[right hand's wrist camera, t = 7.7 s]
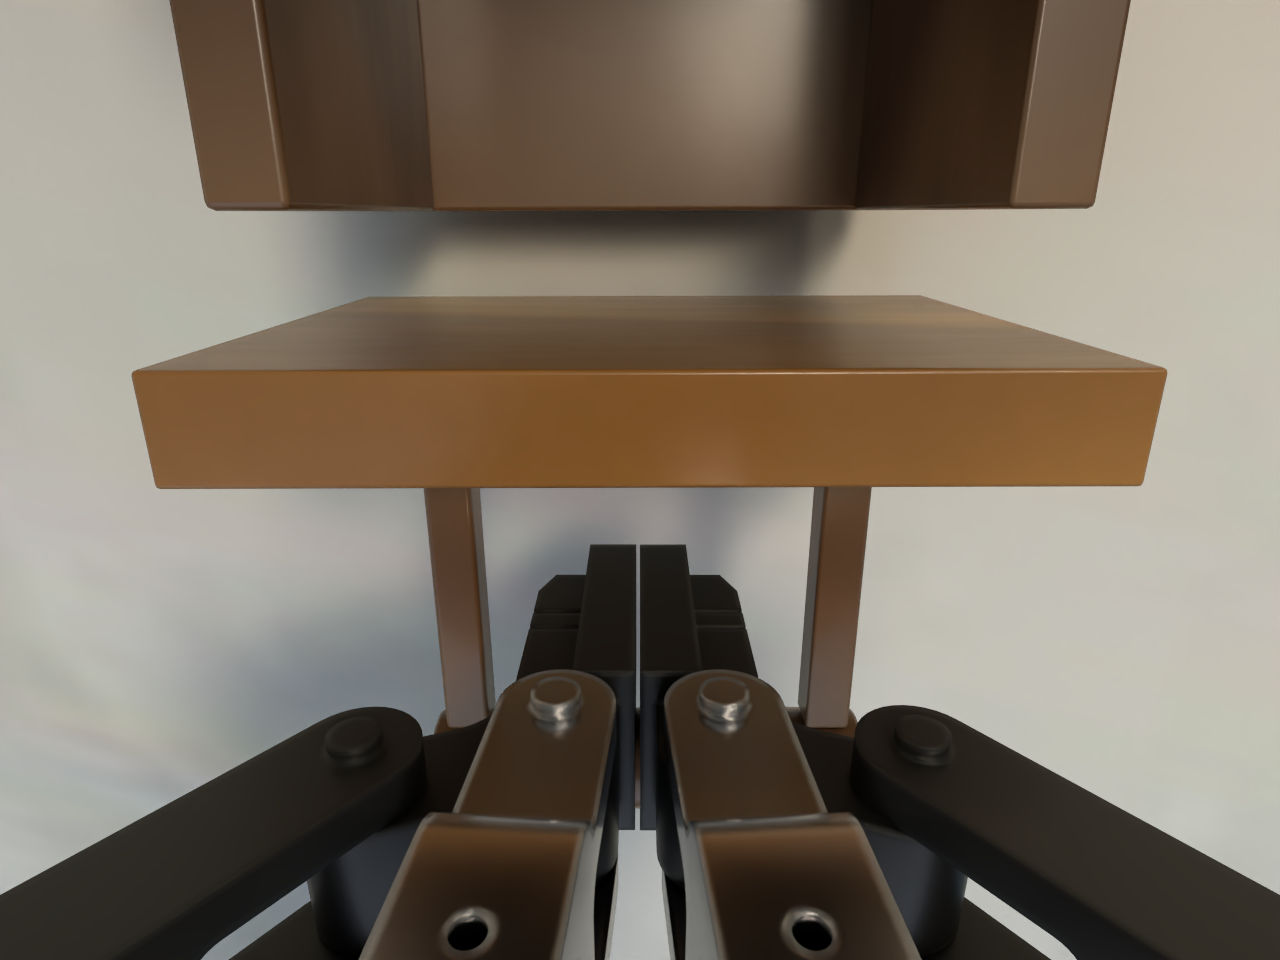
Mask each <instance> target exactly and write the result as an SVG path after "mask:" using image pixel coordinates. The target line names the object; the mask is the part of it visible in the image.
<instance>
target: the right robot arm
mask: <svg viewBox="0 0 1280 960" xmlns="http://www.w3.org/2000/svg"><path fill="white" fill-rule="evenodd" d="M635 760H636V544H591V545H590V551H589V558H588V565H587V572H586V575H556V576H555V577H554V578H553V579H551V580H550V581H549V582H548V583H547V584H546V585H545V586H544V587H543V588H542V589H541V590H539V593H538V597H537V601H536V605H535V608H534V613H533V616H532V620H531V624H530V629H529V632H528V636H527V640H526V644H525V647H524V651H523V655H522V659H521V663H520V667H519V671H518V675H517V679H516V682H514V683H512V684H511V685H510V686H509V687H508V688H506V689H505V690H504V692H503V693H502V694H501V695H500V697H499V699H498V701H497V703H496V706H495V708H494V711H493V713H492V715H490V716H488V717H487V718H485V719H483V720H481V721H479V722H477V723H475V724H472V725H469V726H466V727H463V728H459V729H456V730H452V731H447V732H442V733H438V734H433V735H429V736H424V737H423V735H422V730H421V727H420V725H419V723H418V722H417V721H416V719H414V718H413V717H412V716H411V715H409V714H407V713H405V712H403V711H400V710H397V709H393V708H387V707H364V708H358V709H352V710H348V711H345V712H341V713H338V714H336V715H333V716H330V717H328V718H326V719H324V720H322V721H320V722H318V723H316V724H314V725H312V726H311V727H309V728H307V729H305V730H303V731H301V732H300V733H298V734H296V735H294V736H292V737H290V738H288V739H287V740H285V741H283V742H281V743H279V744H277V745H276V746H274V747H272V748H270V749H268V750H266V751H265V752H263V753H261V754H259V755H257V756H255V757H254V758H252V759H250V760H248V761H246V762H244V763H242V764H241V765H239V766H237V767H235V768H233V769H231V770H230V771H228V772H226V773H224V774H222V775H220V776H219V777H217V778H215V779H213V780H211V781H209V782H207V783H206V784H204V785H202V786H200V787H198V788H196V789H195V790H193V791H191V792H189V793H187V794H185V795H184V796H182V797H180V798H178V799H176V800H174V801H172V802H171V803H169V804H167V805H165V806H163V807H161V808H160V809H158V810H156V811H154V812H152V813H150V814H149V815H147V816H145V817H143V818H141V819H139V820H138V821H136V822H134V823H132V824H130V825H128V826H126V827H125V828H123V829H121V830H119V831H117V832H115V833H114V834H112V835H110V836H108V837H106V838H104V839H103V840H101V841H99V842H97V843H95V844H93V845H91V846H90V847H88V848H86V849H84V850H82V851H80V852H79V853H77V854H75V855H73V856H71V857H69V858H68V859H66V860H64V861H62V862H60V863H58V864H57V865H55V866H53V867H51V868H49V869H47V870H45V871H44V872H42V873H40V874H38V875H36V876H34V877H33V878H31V879H29V880H27V881H25V882H23V883H22V884H20V885H18V886H16V887H14V888H12V889H10V890H9V891H7V892H5V893H3V894H1V895H0V960H201V959H202V958H203V956H204V955H205V954H206V953H207V952H208V951H209V950H210V949H211V948H212V947H213V946H214V945H216V944H217V943H218V942H220V941H221V940H222V939H224V938H225V937H227V936H228V935H229V934H231V933H232V932H234V931H235V930H237V929H238V928H239V927H241V926H242V925H244V924H245V923H247V922H248V921H249V920H251V919H252V918H254V917H255V916H257V915H258V914H259V913H261V912H262V911H264V910H265V909H267V908H268V907H270V906H271V905H272V904H274V903H275V902H277V901H278V900H280V899H281V898H282V897H284V896H285V895H287V894H288V893H290V892H291V891H292V890H294V889H295V888H297V887H298V886H300V885H301V884H302V883H304V882H305V881H307V883H308V889H309V894H310V899H311V901H310V902H308V903H307V904H305V905H304V906H303V907H301V908H300V909H298V910H297V911H296V912H294V913H293V914H292V915H290V916H289V917H287V918H286V919H285V920H283V921H282V922H280V923H279V924H278V925H276V926H275V927H274V928H272V929H271V930H269V931H268V932H267V933H265V934H264V935H262V936H261V937H260V938H258V939H257V940H256V941H254V942H253V943H251V944H250V945H249V946H247V947H246V948H244V949H243V950H242V951H240V952H239V953H238V954H236V955H235V956H233V957H232V958H231V959H229V960H609V959H610V951H611V943H612V934H613V926H614V918H615V910H616V902H617V893H618V832H619V830H635ZM640 830H656V842H657V856H658V860H659V863H660V866H661V868H662V893H663V901H664V909H665V917H666V926H667V934H668V942H669V950H670V958H671V960H1051V959H1049V958H1048V957H1047V956H1045V955H1044V954H1042V953H1041V952H1040V951H1038V950H1037V949H1036V948H1034V947H1033V946H1031V945H1030V944H1029V943H1027V942H1026V941H1024V940H1023V939H1022V938H1020V937H1019V936H1018V935H1016V934H1015V933H1013V932H1012V931H1011V930H1009V929H1008V928H1006V927H1005V926H1004V925H1002V924H1001V923H1000V922H998V921H997V920H995V919H994V918H993V917H991V916H990V915H988V914H987V913H986V912H984V911H983V910H982V909H980V908H979V907H977V906H976V905H975V904H973V903H972V902H970V901H969V900H968V899H966V898H965V897H964V894H965V889H966V884H967V878H968V877H969V878H970V879H972V880H973V881H975V882H976V883H978V884H979V885H980V886H982V887H983V888H985V889H986V890H988V891H989V892H990V893H992V894H993V895H995V896H996V897H998V898H999V899H1000V900H1002V901H1003V902H1005V903H1006V904H1008V905H1009V906H1010V907H1012V908H1013V909H1015V910H1016V911H1018V912H1019V913H1020V914H1022V915H1023V916H1025V917H1026V918H1028V919H1029V920H1031V921H1032V922H1033V923H1035V924H1036V925H1038V926H1039V927H1041V928H1042V929H1043V930H1045V931H1046V932H1048V933H1049V934H1051V935H1052V936H1053V937H1055V938H1056V939H1057V940H1059V941H1060V942H1061V943H1062V944H1063V945H1064V946H1065V947H1067V948H1068V949H1069V950H1070V952H1071V953H1072V954H1073V955H1074V956H1075V958H1076V959H1077V960H1280V895H1279V894H1277V893H1275V892H1273V891H1271V890H1269V889H1268V888H1266V887H1264V886H1262V885H1260V884H1258V883H1257V882H1255V881H1253V880H1251V879H1249V878H1247V877H1246V876H1244V875H1242V874H1240V873H1238V872H1236V871H1235V870H1233V869H1231V868H1229V867H1227V866H1225V865H1223V864H1222V863H1220V862H1218V861H1216V860H1214V859H1212V858H1211V857H1209V856H1207V855H1205V854H1203V853H1201V852H1200V851H1198V850H1196V849H1194V848H1192V847H1190V846H1188V845H1187V844H1185V843H1183V842H1181V841H1179V840H1177V839H1176V838H1174V837H1172V836H1170V835H1168V834H1166V833H1165V832H1163V831H1161V830H1159V829H1157V828H1155V827H1154V826H1152V825H1150V824H1148V823H1146V822H1144V821H1142V820H1141V819H1139V818H1137V817H1135V816H1133V815H1131V814H1130V813H1128V812H1126V811H1124V810H1122V809H1120V808H1119V807H1117V806H1115V805H1113V804H1111V803H1109V802H1107V801H1106V800H1104V799H1102V798H1100V797H1098V796H1096V795H1095V794H1093V793H1091V792H1089V791H1087V790H1085V789H1084V788H1082V787H1080V786H1078V785H1076V784H1074V783H1072V782H1071V781H1069V780H1067V779H1065V778H1063V777H1061V776H1060V775H1058V774H1056V773H1054V772H1052V771H1050V770H1049V769H1047V768H1045V767H1043V766H1041V765H1039V764H1038V763H1036V762H1034V761H1032V760H1030V759H1028V758H1026V757H1025V756H1023V755H1021V754H1019V753H1017V752H1015V751H1014V750H1012V749H1010V748H1008V747H1006V746H1004V745H1003V744H1001V743H999V742H997V741H995V740H993V739H991V738H990V737H988V736H986V735H984V734H982V733H980V732H979V731H977V730H975V729H973V728H971V727H969V726H968V725H966V724H964V723H962V722H960V721H958V720H956V719H954V718H952V717H950V716H948V715H946V714H943V713H940V712H938V711H935V710H931V709H927V708H923V707H917V706H907V705H893V706H886V707H881V708H878V709H875V710H873V711H871V712H869V713H867V714H866V715H864V716H863V717H862V718H861V719H860V720H859V722H858V723H857V726H856V728H855V734H854V737H849V736H844V735H840V734H835V733H831V732H826V731H821V730H818V729H814V728H810V727H807V726H805V725H802V724H799V723H797V722H795V721H793V720H791V719H790V718H789V715H788V713H787V710H786V708H785V705H784V703H783V701H782V699H781V697H780V695H779V694H778V693H777V691H776V690H775V689H774V688H773V687H771V686H770V685H769V684H768V683H766V682H764V681H763V680H761V679H759V678H758V675H757V671H756V666H755V662H754V658H753V654H752V650H751V646H750V642H749V638H748V634H747V630H746V629H745V622H744V618H743V614H742V610H741V605H740V601H739V597H738V593H737V591H736V590H735V589H734V588H733V587H732V586H731V585H730V584H729V583H728V582H727V581H726V580H724V579H723V578H722V577H721V576H720V575H690V574H689V566H688V559H687V551H686V545H640Z"/></svg>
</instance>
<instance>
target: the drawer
mask: <svg viewBox="0 0 1280 960" xmlns="http://www.w3.org/2000/svg"><path fill="white" fill-rule="evenodd" d="M1130 1H1131V0H170V5H171V11H172V17H173V22H174V28H175V34H176V40H177V45H178V51H179V57H180V62H181V68H182V74H183V80H184V85H185V91H186V97H187V103H188V108H189V114H190V120H191V125H192V131H193V137H194V143H195V148H196V154H197V160H198V165H199V171H200V177H201V183H202V188H203V194H204V200H205V203H206V205H207V207H209V208H210V209H213V210H215V211H723V210H961V209H1086V208H1089V207H1092V206H1093V204H1094V202H1095V198H1096V192H1097V186H1098V181H1099V175H1100V170H1101V164H1102V158H1103V153H1104V147H1105V141H1106V136H1107V130H1108V125H1109V119H1110V113H1111V108H1112V102H1113V97H1114V91H1115V85H1116V80H1117V74H1118V68H1119V63H1120V57H1121V52H1122V46H1123V40H1124V35H1125V29H1126V24H1127V18H1128V12H1129V7H1130ZM1166 377H1167V370H1166V369H1165V368H1163V367H1159V366H1156V365H1153V364H1149V363H1146V362H1143V361H1139V360H1136V359H1132V358H1129V357H1126V356H1122V355H1119V354H1116V353H1112V352H1109V351H1105V350H1102V349H1099V348H1095V347H1092V346H1089V345H1085V344H1082V343H1078V342H1075V341H1072V340H1068V339H1065V338H1062V337H1058V336H1055V335H1052V334H1048V333H1045V332H1041V331H1038V330H1035V329H1031V328H1028V327H1025V326H1021V325H1018V324H1014V323H1011V322H1008V321H1004V320H1001V319H998V318H994V317H991V316H987V315H984V314H981V313H977V312H974V311H971V310H967V309H964V308H960V307H957V306H954V305H950V304H947V303H944V302H940V301H937V300H933V299H930V298H927V297H923V296H920V295H910V296H524V297H367V298H364V299H361V300H358V301H354V302H351V303H348V304H345V305H342V306H339V307H335V308H332V309H329V310H326V311H323V312H320V313H316V314H313V315H310V316H307V317H304V318H300V319H297V320H294V321H291V322H288V323H285V324H281V325H278V326H275V327H272V328H269V329H265V330H262V331H259V332H256V333H253V334H250V335H246V336H243V337H240V338H237V339H234V340H231V341H227V342H224V343H221V344H218V345H215V346H211V347H208V348H205V349H202V350H199V351H196V352H192V353H189V354H186V355H183V356H180V357H177V358H173V359H170V360H167V361H164V362H161V363H157V364H154V365H151V366H148V367H145V368H142V369H138V370H136V371H133V372H132V380H133V385H134V389H135V394H136V398H137V403H138V408H139V412H140V417H141V421H142V426H143V430H144V435H145V440H146V444H147V449H148V453H149V458H150V462H151V467H152V472H153V476H154V481H155V485H156V487H157V488H159V489H288V488H424V496H425V506H426V516H427V526H428V536H429V546H430V556H431V566H432V577H433V587H434V597H435V607H436V617H437V627H438V637H439V647H440V657H441V667H442V677H443V687H444V697H445V708H446V709H445V710H443V711H442V713H441V714H440V716H439V719H438V721H437V724H436V727H435V731H434V734H438V733H442V732H447V731H452V730H456V729H459V728H463V727H466V726H469V725H472V724H475V723H477V722H479V721H481V720H483V719H485V718H487V717H488V716H490V715H492V713H493V711H494V707H495V704H496V703H495V689H494V676H493V662H492V649H491V635H490V622H489V608H488V595H487V582H486V568H485V555H484V541H483V528H482V514H481V501H480V488H646V487H814V496H813V509H812V523H811V536H810V549H809V562H808V576H807V589H806V602H805V616H804V629H803V642H802V655H801V669H800V682H799V695H798V705H799V707H785V708H786V710H787V713H788V715H789V718H790V719H791V720H793V721H795V722H797V723H799V724H802V725H805V726H807V727H810V728H814V729H818V730H821V731H826V732H831V733H835V734H840V735H844V736H849V737H854V734H855V728H856V726H857V723H858V722H857V720H856V717H855V715H854V713H853V712H852V710H851V709H849V706H850V696H851V686H852V676H853V666H854V656H855V646H856V637H857V627H858V617H859V607H860V597H861V587H862V577H863V567H864V557H865V547H866V538H867V528H868V518H869V508H870V498H871V488H872V487H1004V486H1140V485H1142V483H1143V480H1144V476H1145V471H1146V467H1147V462H1148V458H1149V453H1150V449H1151V444H1152V440H1153V435H1154V431H1155V426H1156V422H1157V417H1158V413H1159V408H1160V404H1161V399H1162V395H1163V390H1164V386H1165V381H1166ZM635 808H640V708H636V760H635Z"/></svg>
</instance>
